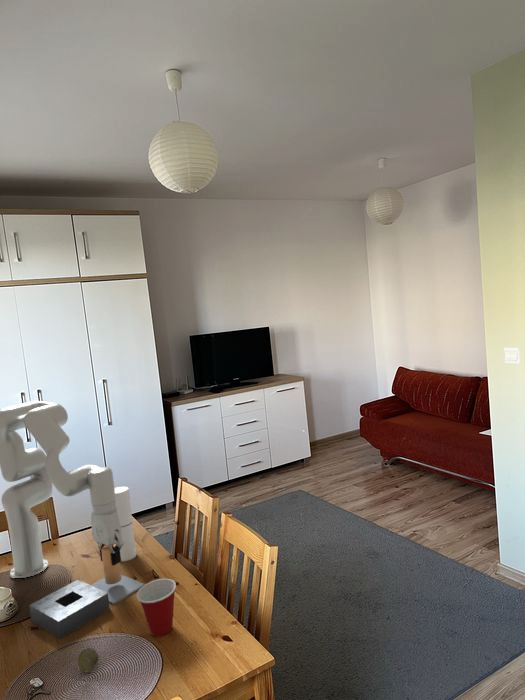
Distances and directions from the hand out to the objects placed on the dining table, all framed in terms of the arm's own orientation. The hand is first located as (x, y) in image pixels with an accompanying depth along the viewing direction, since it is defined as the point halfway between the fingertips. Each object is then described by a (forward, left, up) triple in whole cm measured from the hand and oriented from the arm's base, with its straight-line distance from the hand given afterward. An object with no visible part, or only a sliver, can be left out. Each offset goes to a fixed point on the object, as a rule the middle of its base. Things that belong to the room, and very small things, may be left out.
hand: (111, 560), depth 165 cm
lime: (+27, -27, -9) cm, 39 cm away
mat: (0, 0, -9) cm, 9 cm away
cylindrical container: (-15, +16, -9) cm, 24 cm away
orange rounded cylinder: (0, 0, -6) cm, 6 cm away
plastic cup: (+31, -7, -9) cm, 33 cm away
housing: (+1, -16, -9) cm, 18 cm away
